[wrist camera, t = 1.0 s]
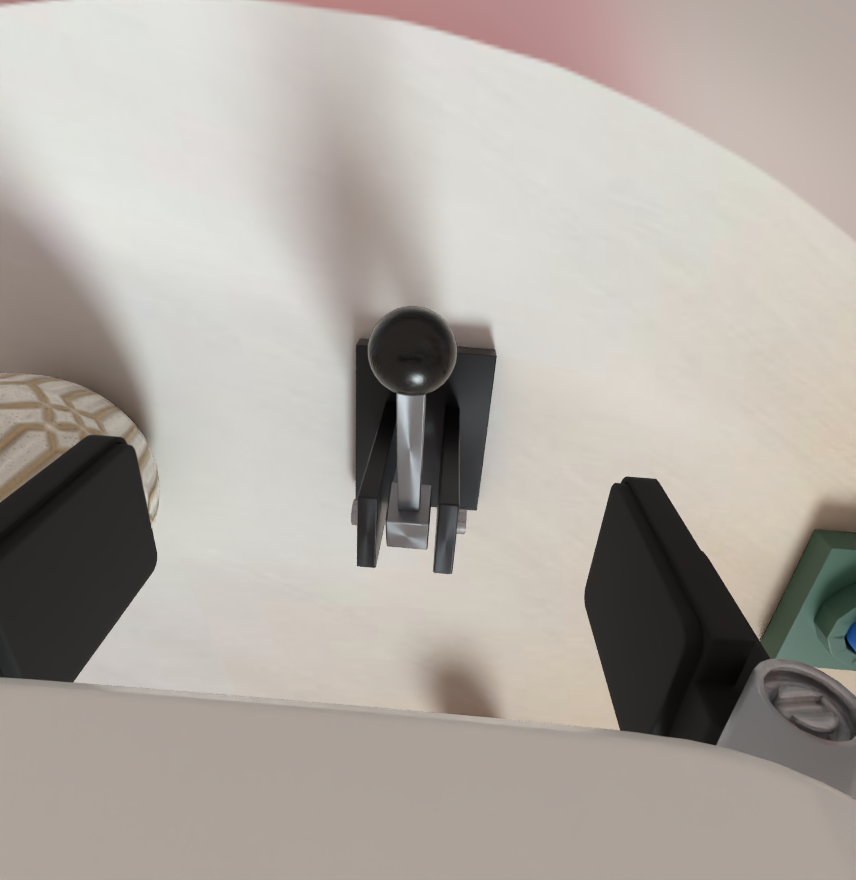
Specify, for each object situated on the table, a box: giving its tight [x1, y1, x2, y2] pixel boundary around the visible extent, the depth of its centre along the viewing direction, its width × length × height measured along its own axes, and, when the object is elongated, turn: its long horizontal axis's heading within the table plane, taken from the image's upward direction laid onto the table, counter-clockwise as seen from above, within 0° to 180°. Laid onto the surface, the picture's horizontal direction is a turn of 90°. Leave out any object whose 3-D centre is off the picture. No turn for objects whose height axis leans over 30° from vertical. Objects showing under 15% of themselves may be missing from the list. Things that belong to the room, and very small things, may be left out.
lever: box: [368, 306, 457, 550], centre depth 25 cm, size 15×3×3 cm, turn 176°
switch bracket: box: [351, 339, 497, 574], centre depth 33 cm, size 12×9×13 cm
